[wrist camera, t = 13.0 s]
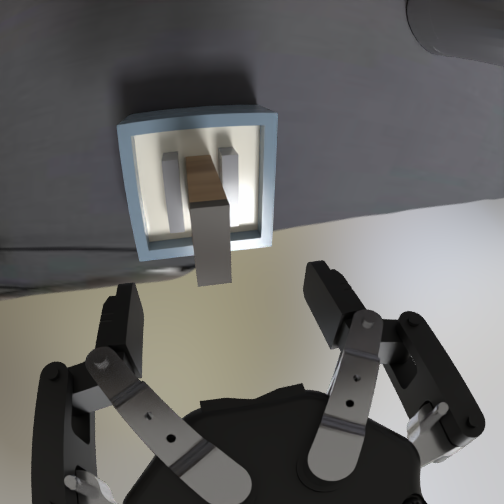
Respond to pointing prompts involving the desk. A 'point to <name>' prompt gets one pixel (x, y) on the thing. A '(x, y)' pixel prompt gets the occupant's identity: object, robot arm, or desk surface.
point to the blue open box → (175, 176)
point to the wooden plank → (209, 221)
